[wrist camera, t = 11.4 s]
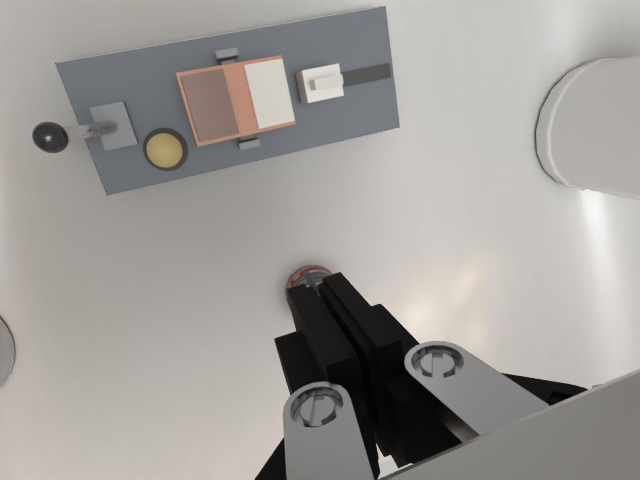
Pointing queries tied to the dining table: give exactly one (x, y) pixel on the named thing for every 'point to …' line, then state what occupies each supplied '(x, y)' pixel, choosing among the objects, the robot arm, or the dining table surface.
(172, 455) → the dining table surface
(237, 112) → the rocker
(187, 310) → the dining table surface
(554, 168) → the bottle
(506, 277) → the dining table surface
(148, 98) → the console
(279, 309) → the dining table surface
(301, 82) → the slider
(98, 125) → the lever
